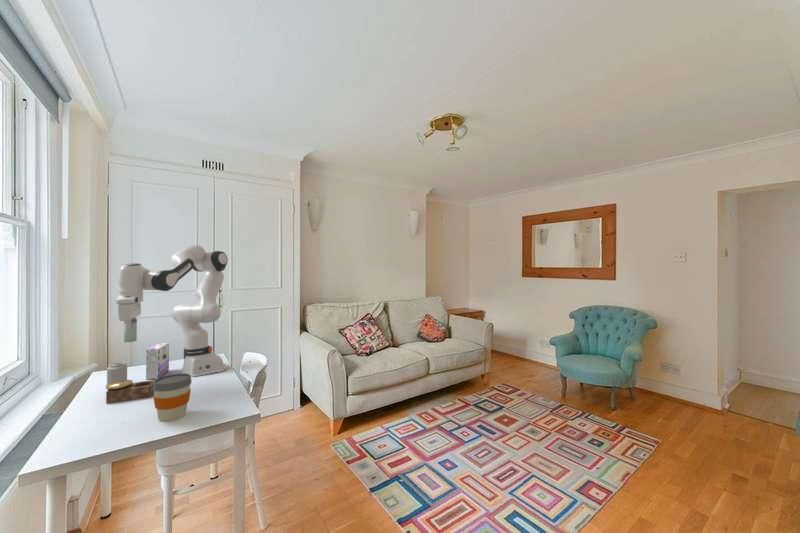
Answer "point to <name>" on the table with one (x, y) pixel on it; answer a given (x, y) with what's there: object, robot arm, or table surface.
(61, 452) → the table surface
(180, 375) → the reusable coffee cup
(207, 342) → the robot arm
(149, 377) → the candy box
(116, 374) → the can
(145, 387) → the housing
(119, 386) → the gold rounded dome
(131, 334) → the cartridge
